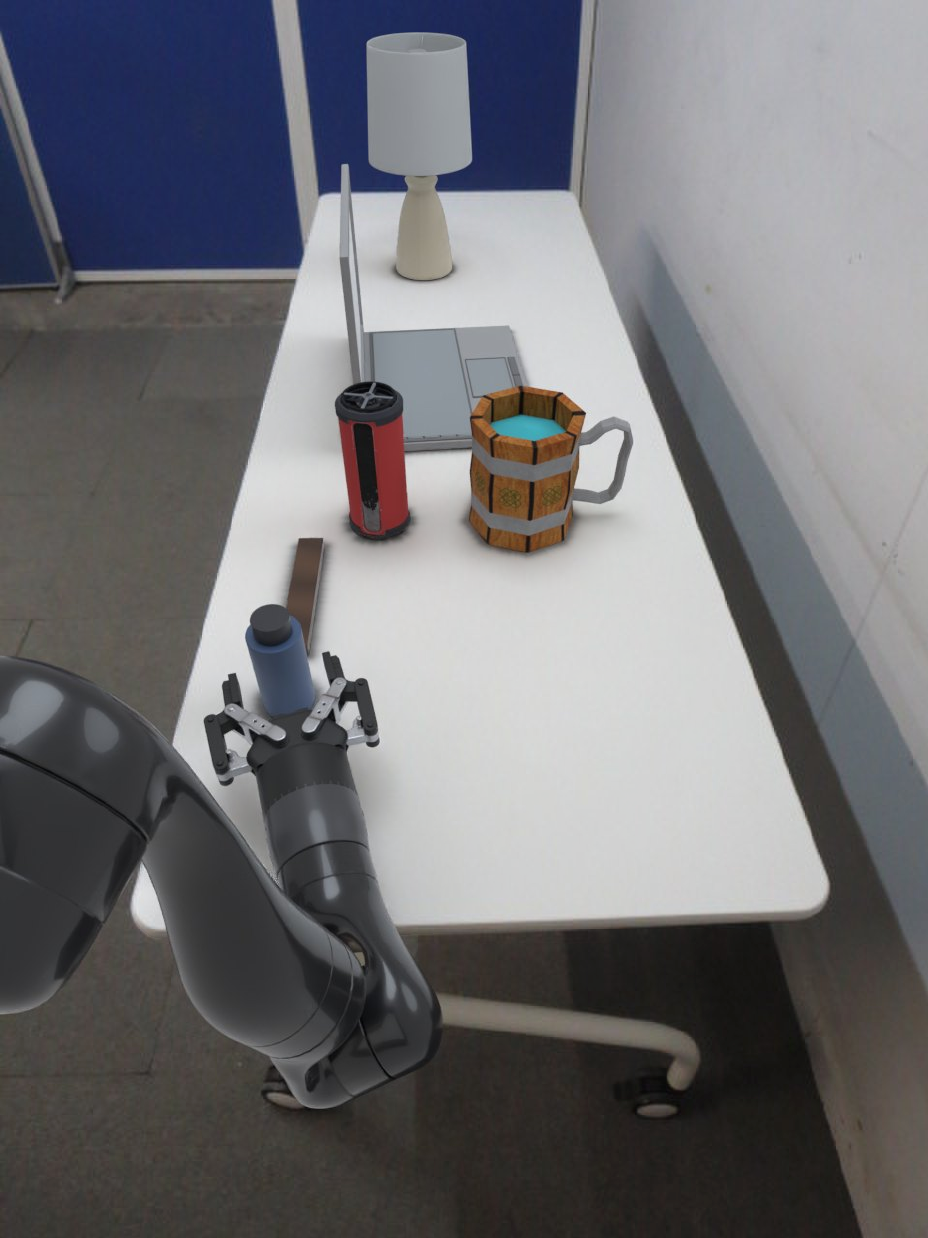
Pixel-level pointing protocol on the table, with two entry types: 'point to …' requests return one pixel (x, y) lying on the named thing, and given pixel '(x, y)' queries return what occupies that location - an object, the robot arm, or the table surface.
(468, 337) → the laptop
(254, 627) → the water bottle
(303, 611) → the walnut strip
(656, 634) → the table surface
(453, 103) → the lamp
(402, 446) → the speaker
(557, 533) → the mug
